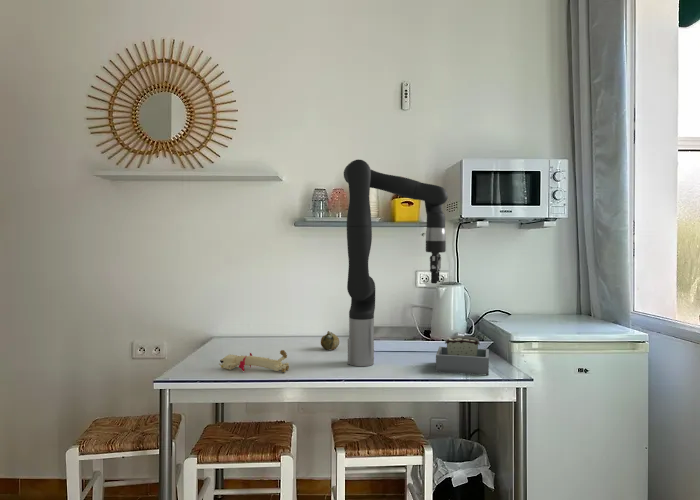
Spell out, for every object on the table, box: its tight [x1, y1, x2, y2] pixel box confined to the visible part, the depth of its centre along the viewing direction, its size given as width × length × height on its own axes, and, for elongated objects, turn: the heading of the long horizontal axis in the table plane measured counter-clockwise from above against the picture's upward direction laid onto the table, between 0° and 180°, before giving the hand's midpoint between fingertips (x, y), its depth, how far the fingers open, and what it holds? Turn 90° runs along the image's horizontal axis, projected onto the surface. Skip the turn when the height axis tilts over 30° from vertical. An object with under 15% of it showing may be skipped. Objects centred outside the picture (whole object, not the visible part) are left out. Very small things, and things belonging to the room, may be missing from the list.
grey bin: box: [435, 346, 490, 376], centre depth 196 cm, size 18×14×6 cm
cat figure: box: [218, 349, 290, 373], centre depth 194 cm, size 10×9×25 cm
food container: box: [444, 335, 481, 357], centre depth 197 cm, size 12×6×10 cm, turn 78°
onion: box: [320, 330, 340, 351], centre depth 226 cm, size 8×8×8 cm
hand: (435, 282), depth 207 cm, fingers open, 8 cm apart
